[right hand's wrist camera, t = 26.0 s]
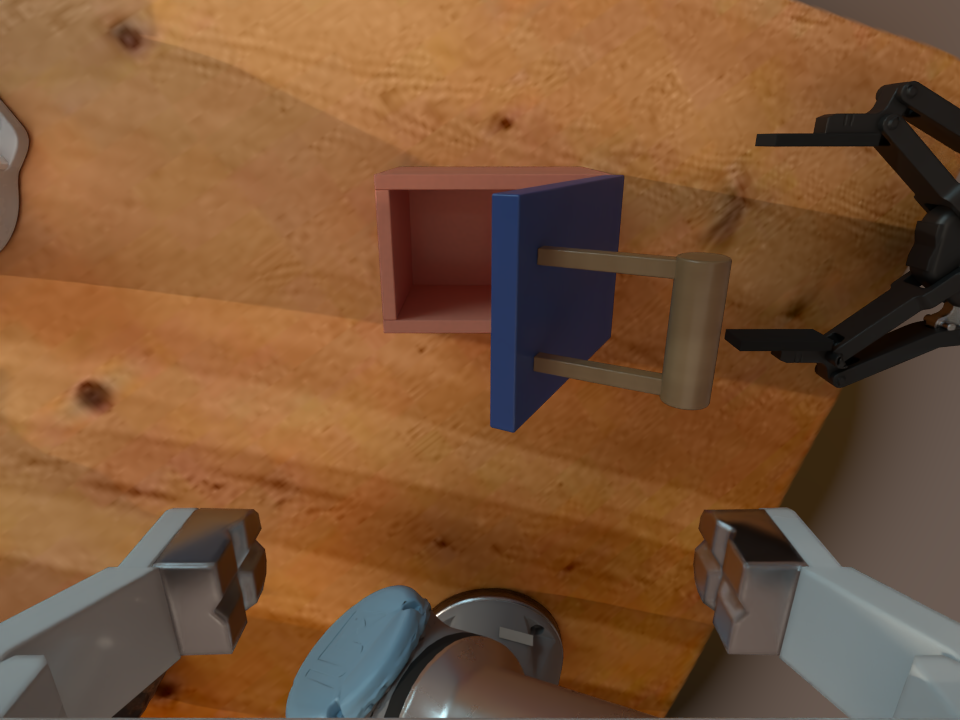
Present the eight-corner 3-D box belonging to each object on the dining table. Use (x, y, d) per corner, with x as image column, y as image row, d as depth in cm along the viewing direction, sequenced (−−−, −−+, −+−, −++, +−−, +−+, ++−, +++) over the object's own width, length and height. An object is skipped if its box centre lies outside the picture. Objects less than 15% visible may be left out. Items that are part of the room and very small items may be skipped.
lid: (489, 427, 25) (692, 478, 21) (490, 193, 21) (734, 204, 18) (592, 334, 37) (734, 356, 33) (604, 174, 33) (764, 178, 30)
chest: (404, 292, 47) (383, 333, 37) (397, 166, 44) (373, 174, 34) (574, 292, 47) (599, 333, 37) (582, 166, 44) (612, 174, 34)
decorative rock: (136, 715, 64) (73, 822, 54) (86, 691, 63) (11, 796, 53) (186, 652, 61) (128, 753, 51) (134, 625, 60) (63, 723, 50)
